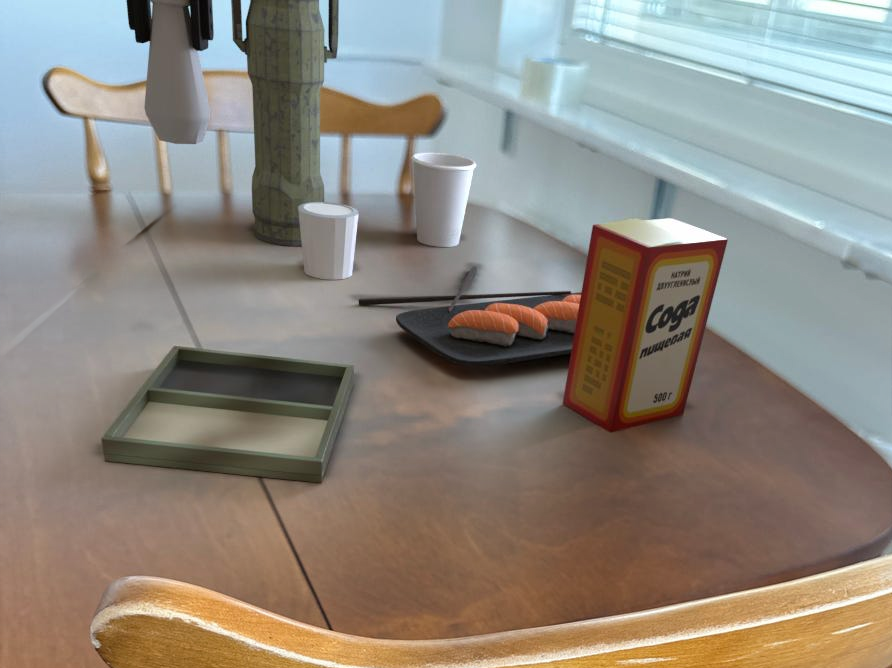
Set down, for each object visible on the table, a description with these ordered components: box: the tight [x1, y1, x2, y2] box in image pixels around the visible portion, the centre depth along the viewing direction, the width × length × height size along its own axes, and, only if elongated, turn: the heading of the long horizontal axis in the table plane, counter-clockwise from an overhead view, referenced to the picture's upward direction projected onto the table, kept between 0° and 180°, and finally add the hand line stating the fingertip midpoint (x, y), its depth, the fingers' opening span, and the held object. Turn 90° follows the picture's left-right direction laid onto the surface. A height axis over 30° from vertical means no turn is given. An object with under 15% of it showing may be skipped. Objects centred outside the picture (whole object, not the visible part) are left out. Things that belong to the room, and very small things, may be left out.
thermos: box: [230, 0, 340, 247], centre depth 108 cm, size 9×12×35 cm
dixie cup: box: [410, 151, 477, 248], centre depth 122 cm, size 8×8×10 cm
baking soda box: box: [562, 217, 729, 433], centre depth 81 cm, size 10×6×16 cm
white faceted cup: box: [298, 201, 360, 281], centre depth 107 cm, size 7×7×7 cm
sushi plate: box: [358, 266, 582, 367], centre depth 102 cm, size 29×30×4 cm
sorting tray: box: [100, 345, 355, 484], centre depth 76 cm, size 16×19×2 cm
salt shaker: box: [143, 0, 212, 145], centre depth 83 cm, size 6×6×13 cm
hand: (172, 42), depth 82 cm, fingers closed on salt shaker, 4 cm apart
